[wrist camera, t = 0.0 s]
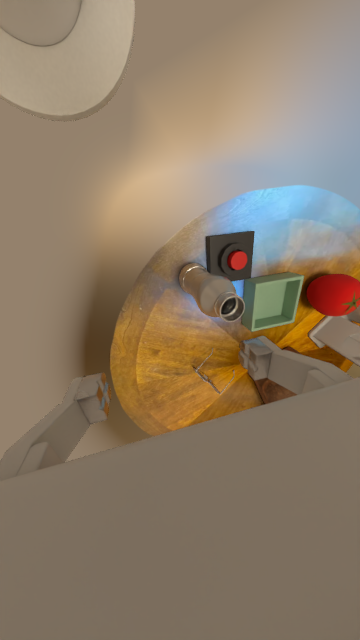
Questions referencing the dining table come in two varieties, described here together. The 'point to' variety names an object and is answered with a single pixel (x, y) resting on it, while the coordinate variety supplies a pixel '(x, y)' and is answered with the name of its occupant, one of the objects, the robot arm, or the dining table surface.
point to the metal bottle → (212, 292)
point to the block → (223, 247)
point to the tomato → (334, 294)
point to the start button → (237, 260)
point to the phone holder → (339, 335)
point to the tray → (271, 300)
